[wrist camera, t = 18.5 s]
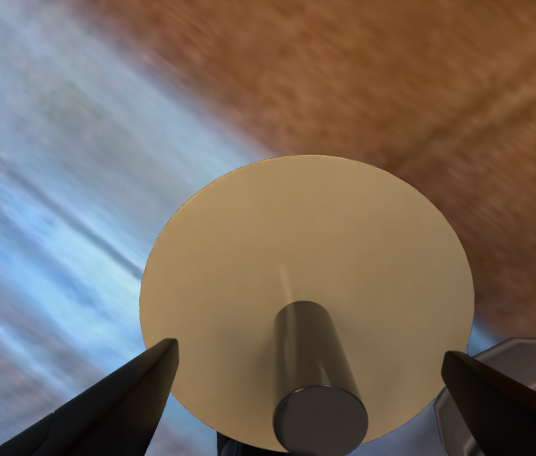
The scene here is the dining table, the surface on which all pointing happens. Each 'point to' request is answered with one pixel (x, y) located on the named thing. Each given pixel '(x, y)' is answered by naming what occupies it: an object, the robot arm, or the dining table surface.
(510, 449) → the robot arm
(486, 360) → the can
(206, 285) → the pot lid
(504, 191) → the dining table surface
